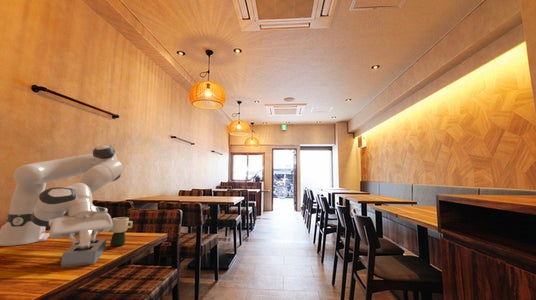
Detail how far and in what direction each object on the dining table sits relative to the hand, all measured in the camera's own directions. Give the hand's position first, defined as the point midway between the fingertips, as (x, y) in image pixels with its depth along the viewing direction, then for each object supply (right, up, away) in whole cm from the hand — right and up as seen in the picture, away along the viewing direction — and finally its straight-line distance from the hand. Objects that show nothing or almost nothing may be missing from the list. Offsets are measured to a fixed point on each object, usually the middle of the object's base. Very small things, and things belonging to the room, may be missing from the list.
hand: (84, 242), depth 89 cm
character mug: (-2, -11, +22) cm, 24 cm away
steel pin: (-1, -5, 0) cm, 5 cm away
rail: (-3, -8, +4) cm, 9 cm away
